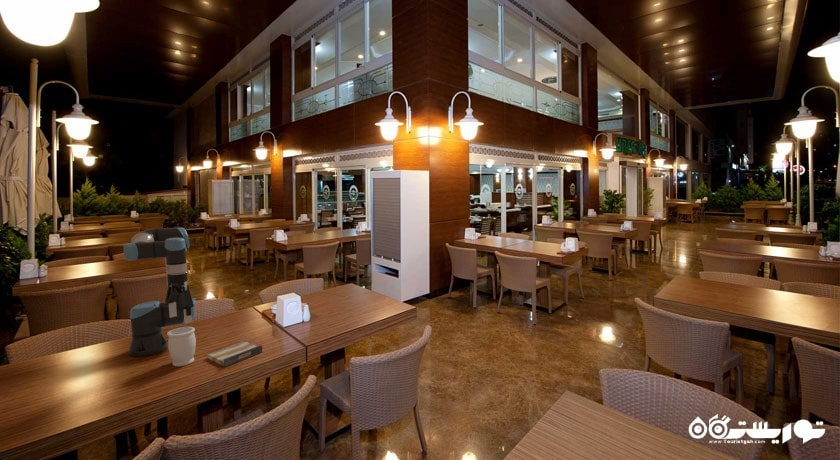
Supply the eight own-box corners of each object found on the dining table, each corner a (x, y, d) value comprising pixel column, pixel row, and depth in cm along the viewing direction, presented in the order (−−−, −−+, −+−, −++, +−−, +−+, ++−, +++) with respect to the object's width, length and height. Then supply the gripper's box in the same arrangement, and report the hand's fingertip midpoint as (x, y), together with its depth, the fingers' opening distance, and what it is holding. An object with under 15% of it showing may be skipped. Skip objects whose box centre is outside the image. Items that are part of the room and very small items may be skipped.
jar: (183, 369, 162) (181, 336, 160) (163, 366, 164) (161, 334, 162) (202, 358, 172) (200, 327, 170) (183, 356, 174) (181, 325, 172)
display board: (207, 358, 172) (207, 351, 171) (243, 344, 187) (243, 338, 186) (225, 366, 163) (225, 360, 163) (262, 352, 178) (262, 345, 178)
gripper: (154, 271, 167) (158, 316, 169) (182, 278, 153) (185, 327, 156) (172, 268, 173) (176, 312, 175) (200, 274, 160) (203, 322, 162)
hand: (180, 319), depth 165 cm, fingers open, 13 cm apart
